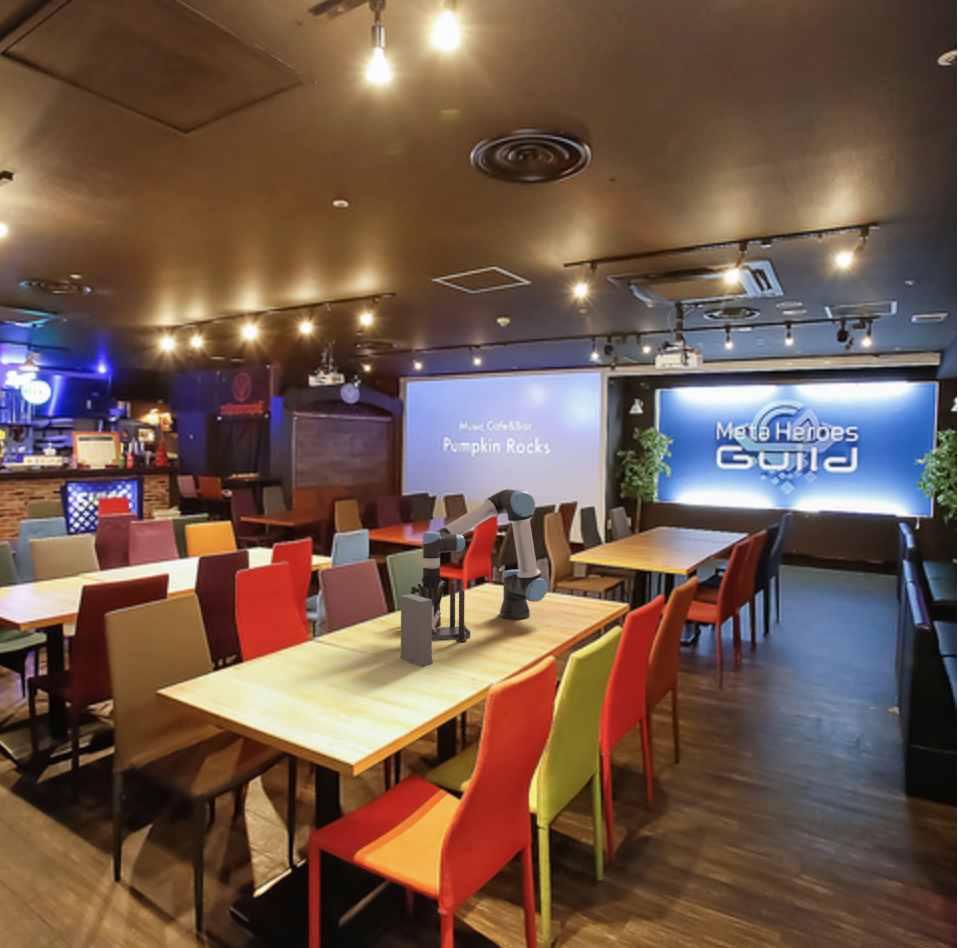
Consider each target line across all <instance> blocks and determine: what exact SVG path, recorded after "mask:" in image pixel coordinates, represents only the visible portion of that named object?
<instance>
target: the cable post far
mask: <svg viewBox="0 0 958 948" xmlns="http://www.w3.org/2000/svg"><path fill="white" fill-rule="evenodd" d="M449 584H450V585H449V627H456V581H451V582H449Z"/></svg>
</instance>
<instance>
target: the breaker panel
mask: <svg viewBox="0 0 958 948" xmlns="http://www.w3.org/2000/svg"><path fill="white" fill-rule="evenodd" d="M436 629H437V631H438V632H437V633H434V631H433V630H432V641H442V640H456V639H457V638H459V625H458V626H455V627H450V626H444V627H441V626H440V627H436ZM464 638H466V639H470V638H471V630H469V628H468V627H467V626H466V625H465V624H464Z"/></svg>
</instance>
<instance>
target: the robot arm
mask: <svg viewBox="0 0 958 948" xmlns="http://www.w3.org/2000/svg"><path fill="white" fill-rule="evenodd" d="M483 501H484V502H483V503H481V504H480V505H478V506H477V507H475V508H473V509H471V510H470V511H468V512H467V513H465V514H464V515H463V514H462V516H460V517H459V518H457V519H455V520H454V521H452V522H450V523H449V524H447V525H445V526H444V527H442V528H440V529H437V530H431V531H425V532H424V533H422V542H421V543H422V578H421V581H419V582H417V584H416V585H417V588H418V589H420V592H421V596H422V597H424V598H425V595H424V591H423V588H422V587H423V583H424V585H425V586H426V587H427V599H430V600H431V588H432V589H433V605H432V621H434V613H436V605H437V604H440V605H441V602H442V598H443V593H444V589H445V587H446V585H447V583H446V581H444V580H442V578H441V568H440V566H441V553H452V552H453V553H454V552H457V553H458V552H460V551H464V549H465V547H466V540H465V537H464V536H463V535H464V534H466V533H467V532H468V531H470V530H472V529H474V528H476V527H477V526H479V525H480V524H481V523H483V522H486V521H487V520H488V519H490V518H492V517H493V518H496V517H498V516H499V515H502V514H507V520H508V522H510V523H511V526H512V533H513V539H514V546H515V551H516V557H517V563H518V569H508V570H505V571H503V572H504V573H503V577H502V578H503V588H502V589H503V597H502V598H503V599H502V603H501V606H500V609H499V617H501V618H505V619H508V620H509V619H510V620H525V619H527V618H530V616H531V610H530V607H529V605H528V602H533V603H537V602H540V601H542V600H543V599H544V598H545V596H546V595H547V593H548V591H549V590H548V588H549V587H548V583H547V581H546V580H545V579H544V578H543V577H542V571H541V569H539V568H538V567H537V566H538V565H537V559H536V553H535V547H534V541H533V534H532V527H531V519H533V513H534V510H535V508H536V502H535V498H534V496H533V495H532V494H530V493H529V492H528V491H524V490H520V489H519V490H518V489H517V490H516V489H510V488H509V489H508V488H507V489H503V490H500V491H498V492H495V493H494V494H492V495H490V496H489V497H488V498H485V500H483ZM439 584H440V589H439V593H438V598H437V601H436V590H437V586H438V585H439Z"/></svg>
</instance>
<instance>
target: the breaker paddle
mask: <svg viewBox="0 0 958 948" xmlns="http://www.w3.org/2000/svg"><path fill="white" fill-rule="evenodd" d="M441 615H442V611H441V610H440V611H438V610H437V612H436V615H435V617H434V621H433V622H432V624H433V625H434V627H435V626H436V623H437V621H438V619H439V617H441ZM432 630H433V629H432Z"/></svg>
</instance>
